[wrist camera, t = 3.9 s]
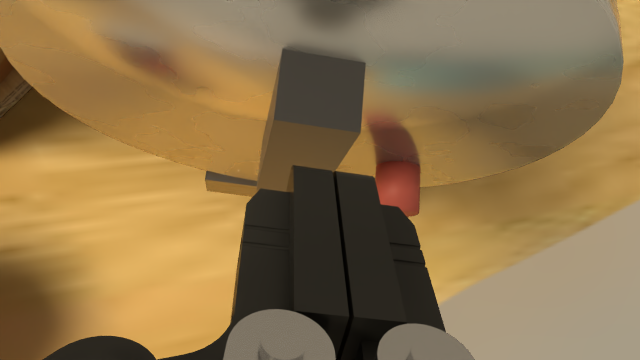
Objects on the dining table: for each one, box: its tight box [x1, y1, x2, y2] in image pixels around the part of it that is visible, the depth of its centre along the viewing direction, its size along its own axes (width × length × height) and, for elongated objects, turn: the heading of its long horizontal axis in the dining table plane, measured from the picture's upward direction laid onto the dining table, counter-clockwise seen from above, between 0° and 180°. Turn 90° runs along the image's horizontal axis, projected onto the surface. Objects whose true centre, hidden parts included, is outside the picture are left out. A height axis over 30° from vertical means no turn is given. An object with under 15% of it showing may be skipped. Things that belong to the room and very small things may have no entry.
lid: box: [0, 0, 623, 217], centre depth 16 cm, size 16×16×3 cm
